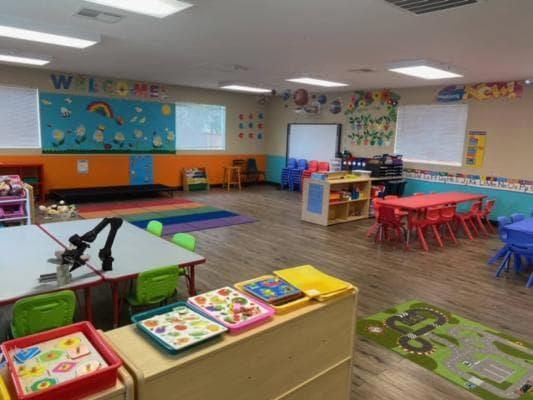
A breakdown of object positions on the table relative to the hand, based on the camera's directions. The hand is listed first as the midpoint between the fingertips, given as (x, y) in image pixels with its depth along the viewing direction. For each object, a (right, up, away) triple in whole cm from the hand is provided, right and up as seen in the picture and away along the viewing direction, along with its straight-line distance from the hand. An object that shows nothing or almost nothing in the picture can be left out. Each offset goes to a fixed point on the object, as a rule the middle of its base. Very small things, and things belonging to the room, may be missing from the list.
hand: (65, 270), depth 255 cm
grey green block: (-1, -9, 0) cm, 9 cm away
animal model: (-19, 0, +47) cm, 51 cm away
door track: (-11, -7, +10) cm, 17 cm away
